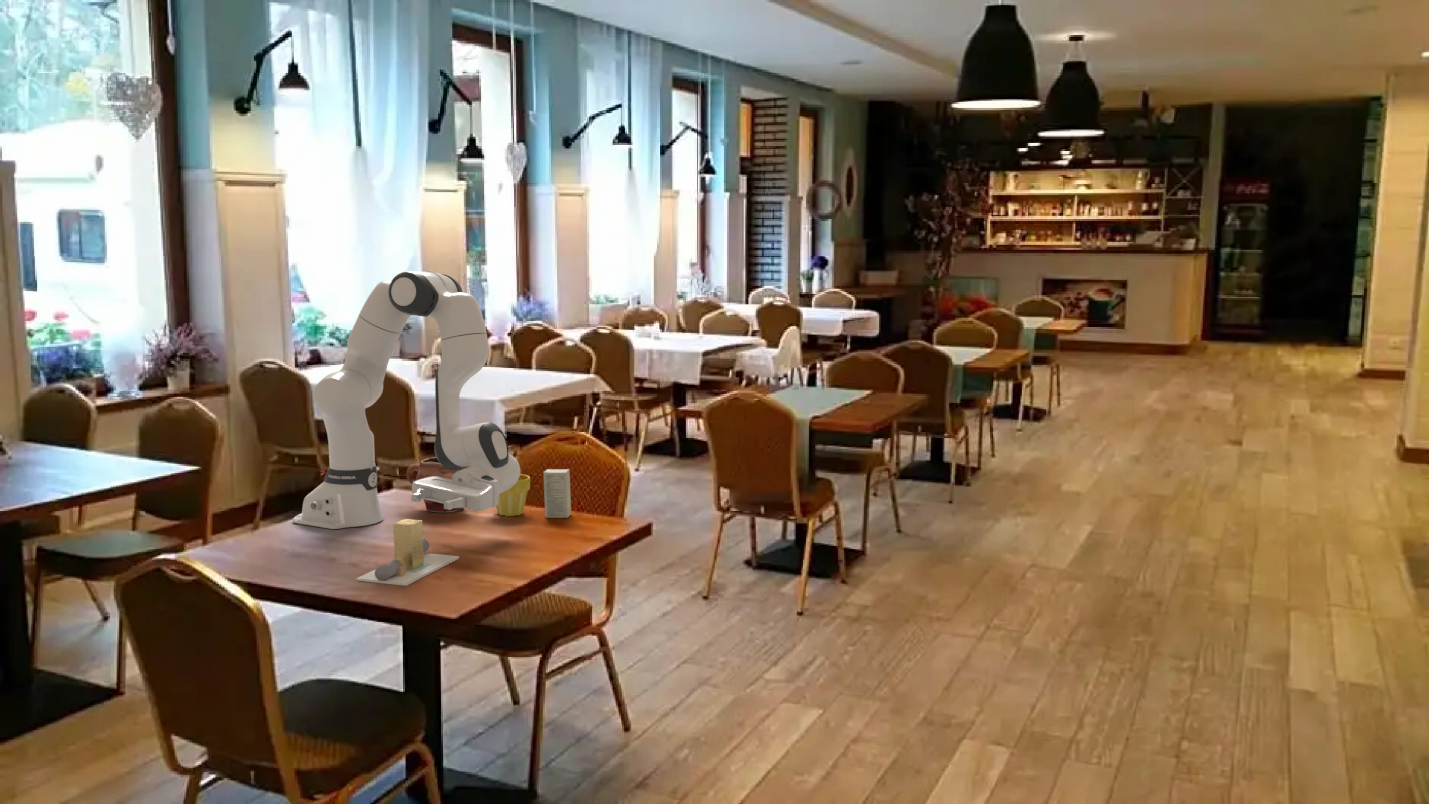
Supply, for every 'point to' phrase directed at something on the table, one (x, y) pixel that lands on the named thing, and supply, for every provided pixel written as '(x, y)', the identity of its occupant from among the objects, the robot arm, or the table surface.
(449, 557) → the white flat board
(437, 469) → the pink clay mug
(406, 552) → the block
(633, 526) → the table surface
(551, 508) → the skincare box
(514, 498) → the plant pot
